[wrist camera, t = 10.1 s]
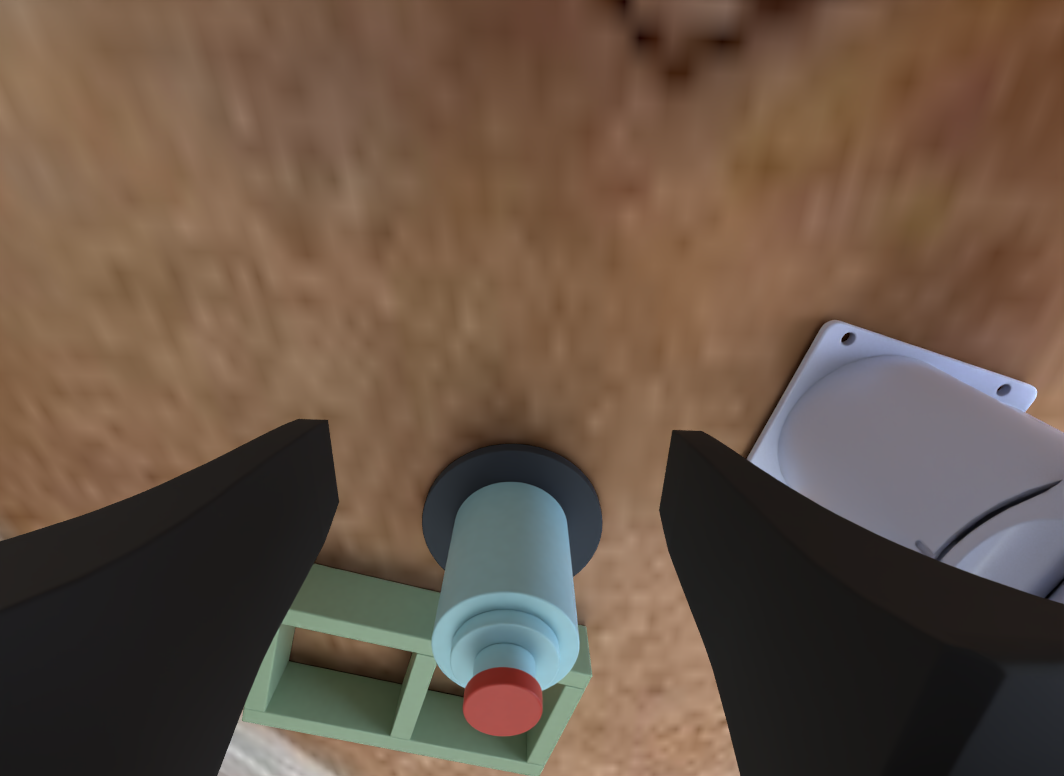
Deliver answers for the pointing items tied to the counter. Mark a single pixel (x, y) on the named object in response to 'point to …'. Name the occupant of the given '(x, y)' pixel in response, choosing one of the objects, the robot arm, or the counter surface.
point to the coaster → (514, 467)
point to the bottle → (507, 606)
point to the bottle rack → (385, 707)
